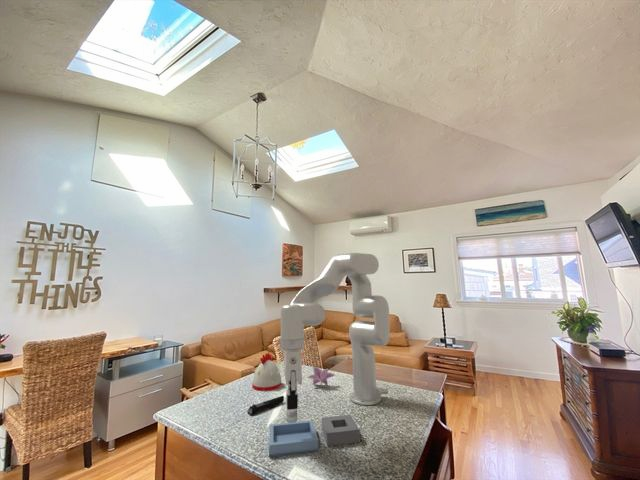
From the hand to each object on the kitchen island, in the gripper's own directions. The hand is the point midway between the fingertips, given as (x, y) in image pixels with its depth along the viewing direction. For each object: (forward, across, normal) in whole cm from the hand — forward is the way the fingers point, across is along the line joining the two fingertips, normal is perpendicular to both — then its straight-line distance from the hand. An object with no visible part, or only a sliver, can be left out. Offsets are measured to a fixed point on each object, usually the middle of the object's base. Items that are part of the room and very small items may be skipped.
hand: (291, 405), depth 85 cm
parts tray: (+11, 0, 0) cm, 11 cm away
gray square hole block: (+10, +1, -15) cm, 18 cm away
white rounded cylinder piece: (+4, 0, 0) cm, 4 cm away
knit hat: (+11, +52, +9) cm, 54 cm away
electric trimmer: (+11, +26, +8) cm, 30 cm away
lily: (+10, +44, -17) cm, 48 cm away
